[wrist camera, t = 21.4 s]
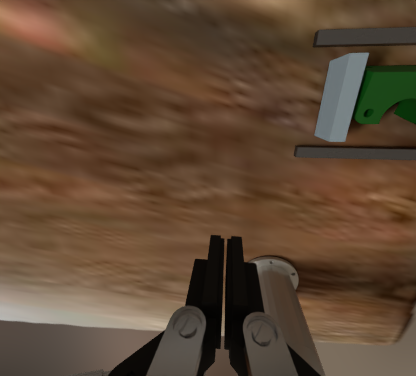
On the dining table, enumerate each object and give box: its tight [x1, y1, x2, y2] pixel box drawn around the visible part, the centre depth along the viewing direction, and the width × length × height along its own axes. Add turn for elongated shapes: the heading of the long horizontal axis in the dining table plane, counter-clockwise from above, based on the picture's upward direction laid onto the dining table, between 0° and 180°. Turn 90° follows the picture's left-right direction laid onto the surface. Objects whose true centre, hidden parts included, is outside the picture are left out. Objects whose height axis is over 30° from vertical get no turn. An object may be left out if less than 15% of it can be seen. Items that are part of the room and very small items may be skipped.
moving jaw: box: [314, 53, 369, 142], centre depth 27 cm, size 10×2×5 cm, turn 0°
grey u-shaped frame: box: [294, 27, 416, 160], centre depth 27 cm, size 17×20×5 cm
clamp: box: [352, 65, 416, 124], centre depth 26 cm, size 12×6×9 cm, turn 84°
